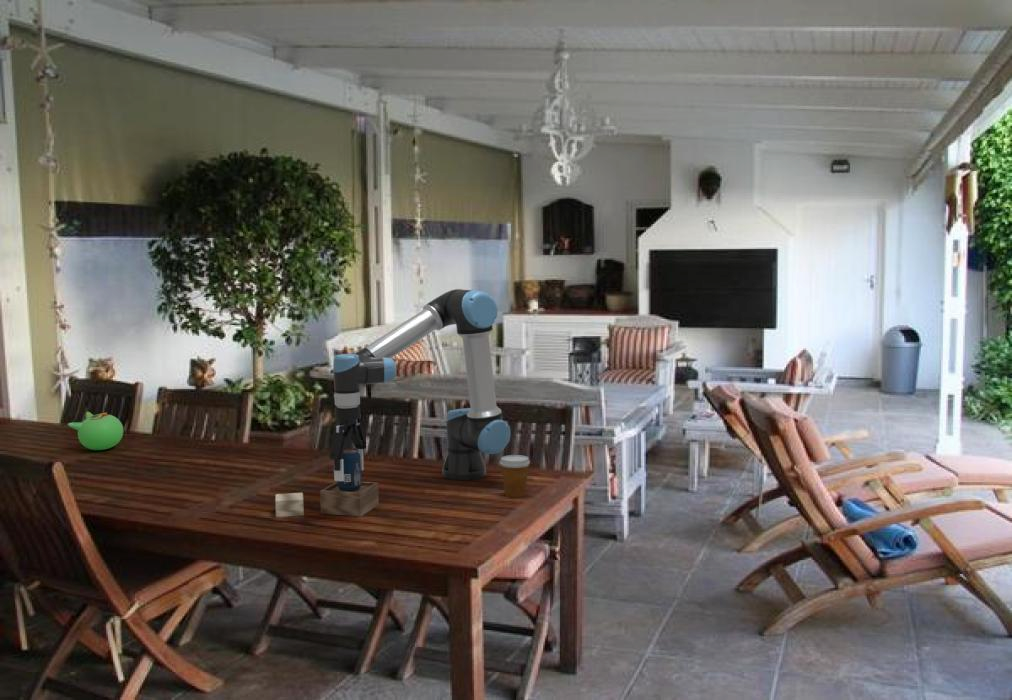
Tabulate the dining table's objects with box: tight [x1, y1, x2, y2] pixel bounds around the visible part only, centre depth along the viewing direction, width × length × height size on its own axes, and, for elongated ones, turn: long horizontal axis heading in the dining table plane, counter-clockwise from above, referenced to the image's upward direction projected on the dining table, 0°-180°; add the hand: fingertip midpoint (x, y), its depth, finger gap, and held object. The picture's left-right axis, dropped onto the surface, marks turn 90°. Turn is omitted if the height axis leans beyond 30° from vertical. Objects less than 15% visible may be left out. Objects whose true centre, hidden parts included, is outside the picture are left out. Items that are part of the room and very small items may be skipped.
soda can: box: [338, 448, 362, 492], centre depth 289 cm, size 7×7×12 cm
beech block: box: [274, 492, 305, 518], centre depth 287 cm, size 8×8×5 cm
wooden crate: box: [319, 481, 380, 518], centre depth 290 cm, size 13×13×7 cm
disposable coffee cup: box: [499, 454, 531, 498], centre depth 303 cm, size 10×10×12 cm
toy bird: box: [67, 411, 124, 451], centre depth 373 cm, size 18×17×15 cm
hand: (349, 475), depth 289 cm, fingers open, 13 cm apart
